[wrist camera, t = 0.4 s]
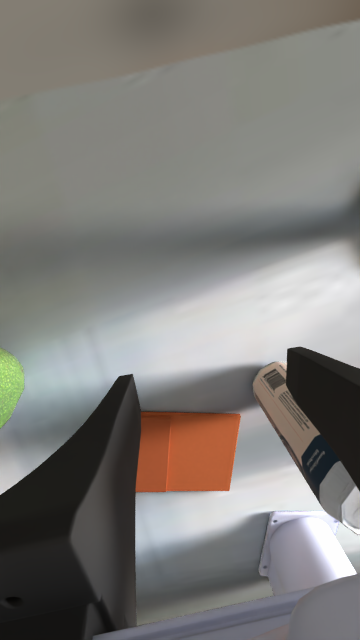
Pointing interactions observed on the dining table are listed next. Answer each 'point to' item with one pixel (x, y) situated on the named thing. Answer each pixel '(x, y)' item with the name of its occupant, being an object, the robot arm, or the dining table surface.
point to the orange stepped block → (186, 451)
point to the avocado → (9, 384)
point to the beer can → (308, 447)
